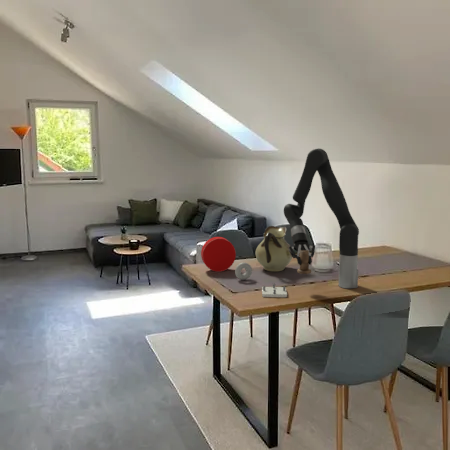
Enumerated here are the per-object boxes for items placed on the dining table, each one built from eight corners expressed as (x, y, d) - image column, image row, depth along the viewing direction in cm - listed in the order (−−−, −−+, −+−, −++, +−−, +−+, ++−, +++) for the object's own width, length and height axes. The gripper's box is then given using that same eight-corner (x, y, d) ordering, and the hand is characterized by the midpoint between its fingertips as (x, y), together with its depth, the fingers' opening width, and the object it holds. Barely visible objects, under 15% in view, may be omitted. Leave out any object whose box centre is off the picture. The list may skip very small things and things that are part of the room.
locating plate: (285, 290, 241) (285, 283, 240) (286, 297, 229) (287, 290, 229) (262, 289, 242) (262, 283, 241) (262, 296, 230) (262, 290, 229)
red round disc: (233, 268, 286) (233, 235, 283) (235, 270, 280) (235, 237, 277) (201, 270, 282) (200, 237, 278) (202, 272, 276) (202, 239, 273)
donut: (250, 278, 264) (250, 260, 262) (253, 279, 260) (253, 262, 259) (234, 280, 260) (233, 262, 258) (236, 281, 257) (236, 264, 255)
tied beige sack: (283, 263, 297) (283, 224, 293) (300, 272, 275) (300, 230, 271) (250, 266, 290) (249, 226, 286) (264, 276, 268) (264, 233, 264)
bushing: (310, 270, 240) (310, 249, 238) (312, 273, 233) (312, 252, 231) (296, 270, 240) (296, 249, 239) (297, 274, 234) (297, 252, 232)
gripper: (286, 232, 240) (292, 260, 230) (313, 231, 242) (320, 259, 232) (284, 240, 246) (290, 268, 236) (310, 239, 248) (317, 267, 238)
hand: (305, 263), depth 234 cm, fingers closed on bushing, 4 cm apart
